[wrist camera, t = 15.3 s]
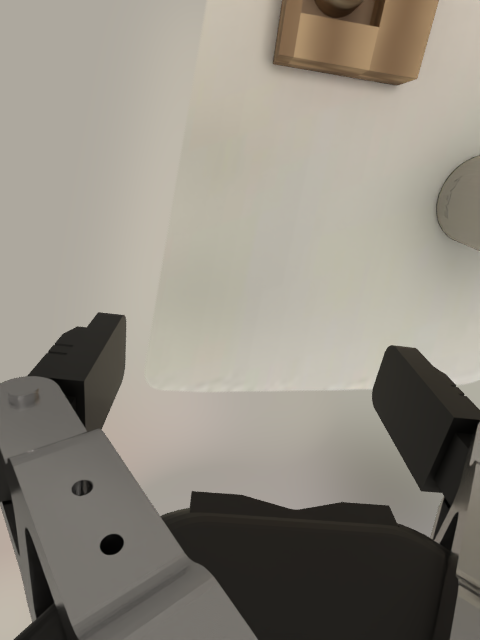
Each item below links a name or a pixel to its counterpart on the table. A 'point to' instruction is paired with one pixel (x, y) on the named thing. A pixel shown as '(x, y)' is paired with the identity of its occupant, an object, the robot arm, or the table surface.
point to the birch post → (338, 7)
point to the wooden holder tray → (356, 39)
